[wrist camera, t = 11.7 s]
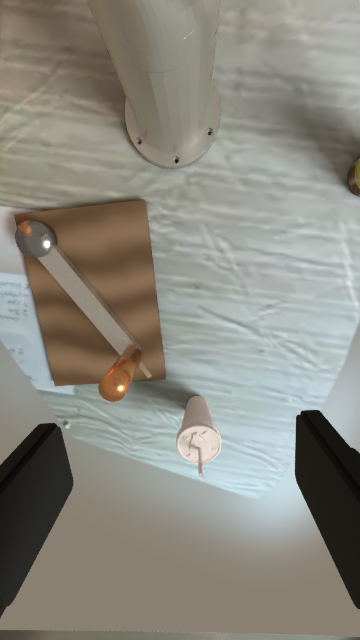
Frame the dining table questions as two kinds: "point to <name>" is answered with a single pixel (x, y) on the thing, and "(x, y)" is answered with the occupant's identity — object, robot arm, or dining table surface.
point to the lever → (84, 304)
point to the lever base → (98, 290)
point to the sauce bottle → (355, 177)
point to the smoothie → (198, 434)
